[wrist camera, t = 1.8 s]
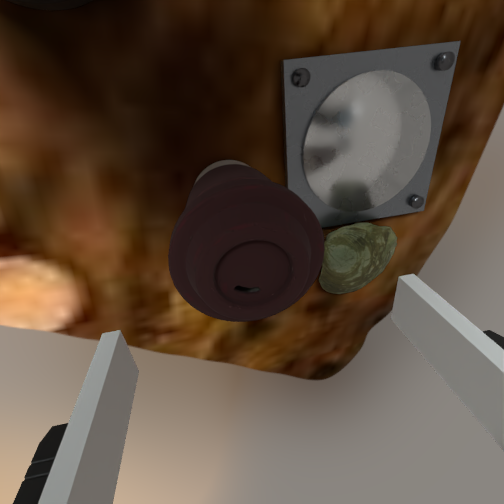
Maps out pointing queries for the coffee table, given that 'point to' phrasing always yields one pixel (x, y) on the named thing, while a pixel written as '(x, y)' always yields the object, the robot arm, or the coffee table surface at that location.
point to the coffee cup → (244, 245)
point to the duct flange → (365, 129)
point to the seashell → (355, 256)
